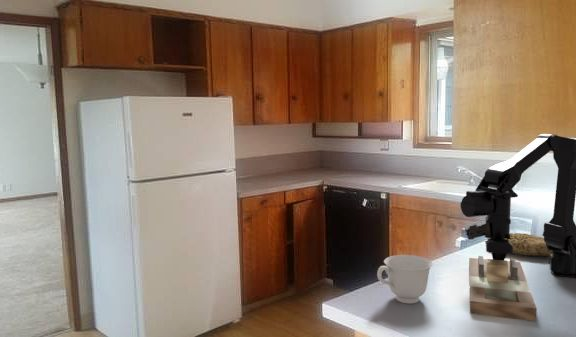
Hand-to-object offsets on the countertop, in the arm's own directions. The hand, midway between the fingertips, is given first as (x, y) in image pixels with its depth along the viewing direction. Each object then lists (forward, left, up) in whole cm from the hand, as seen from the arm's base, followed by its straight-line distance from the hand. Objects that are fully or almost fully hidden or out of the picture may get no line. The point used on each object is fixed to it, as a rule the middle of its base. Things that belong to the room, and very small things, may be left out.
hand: (496, 269), depth 129 cm
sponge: (-10, -33, -5) cm, 35 cm away
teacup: (+23, +19, -4) cm, 30 cm away
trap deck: (0, +5, -4) cm, 6 cm away
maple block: (0, +4, -1) cm, 5 cm away
